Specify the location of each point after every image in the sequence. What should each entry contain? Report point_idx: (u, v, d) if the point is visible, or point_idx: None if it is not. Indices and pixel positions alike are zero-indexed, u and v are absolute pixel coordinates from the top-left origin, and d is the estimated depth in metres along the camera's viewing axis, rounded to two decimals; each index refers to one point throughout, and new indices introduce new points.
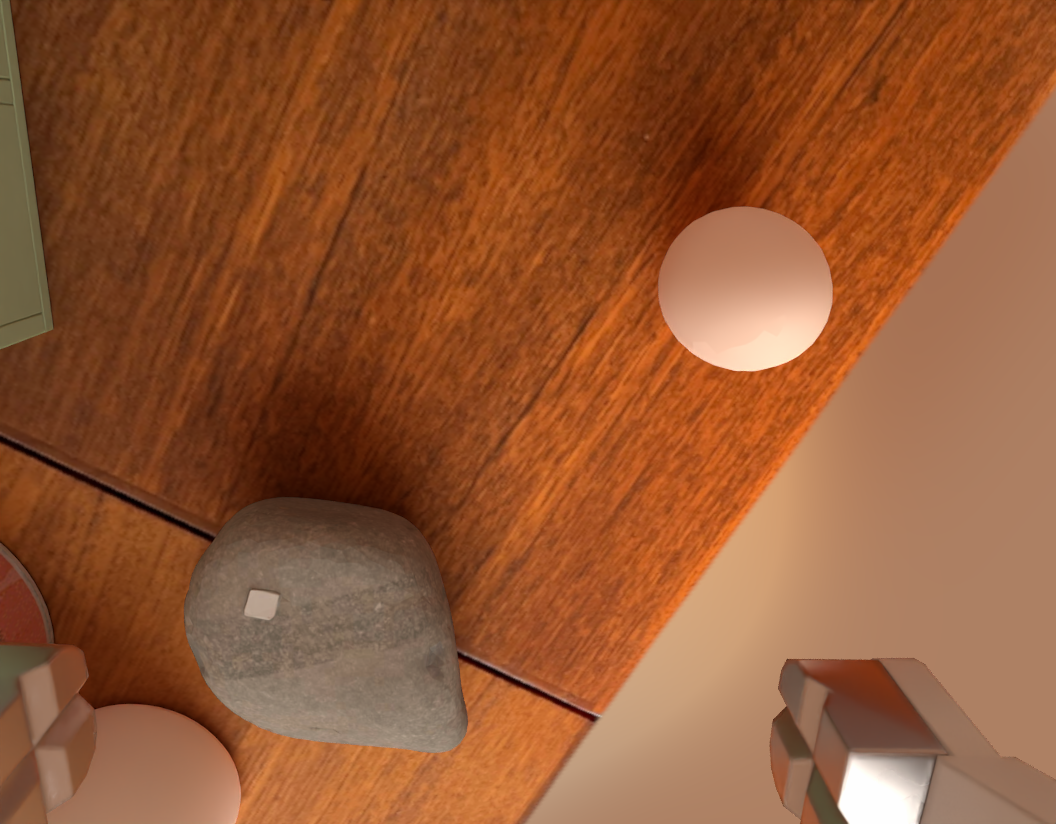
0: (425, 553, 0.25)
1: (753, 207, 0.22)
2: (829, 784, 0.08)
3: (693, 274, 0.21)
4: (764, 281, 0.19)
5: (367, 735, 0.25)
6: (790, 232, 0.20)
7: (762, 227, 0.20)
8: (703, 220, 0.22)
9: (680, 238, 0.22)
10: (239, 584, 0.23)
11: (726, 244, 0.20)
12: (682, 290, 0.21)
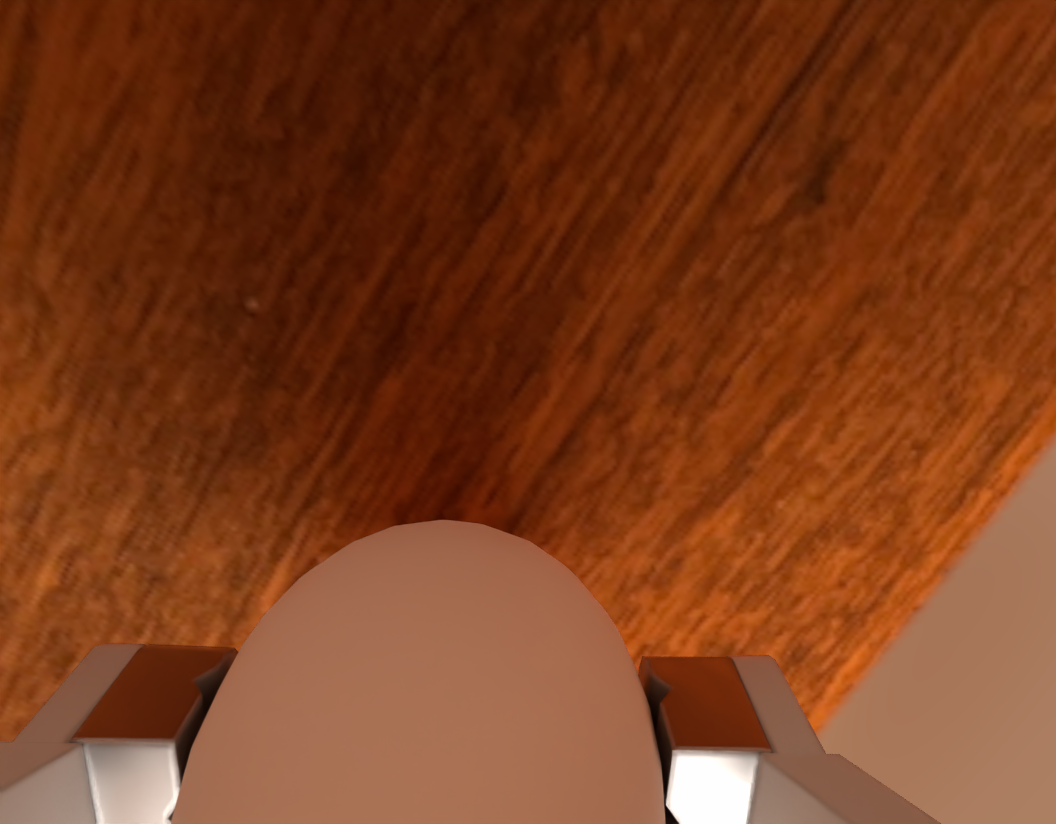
0: None
1: (440, 568, 0.07)
2: None
3: None
4: None
5: None
6: (471, 787, 0.05)
7: (372, 763, 0.05)
8: (288, 613, 0.07)
9: (243, 647, 0.08)
10: None
11: None
12: None
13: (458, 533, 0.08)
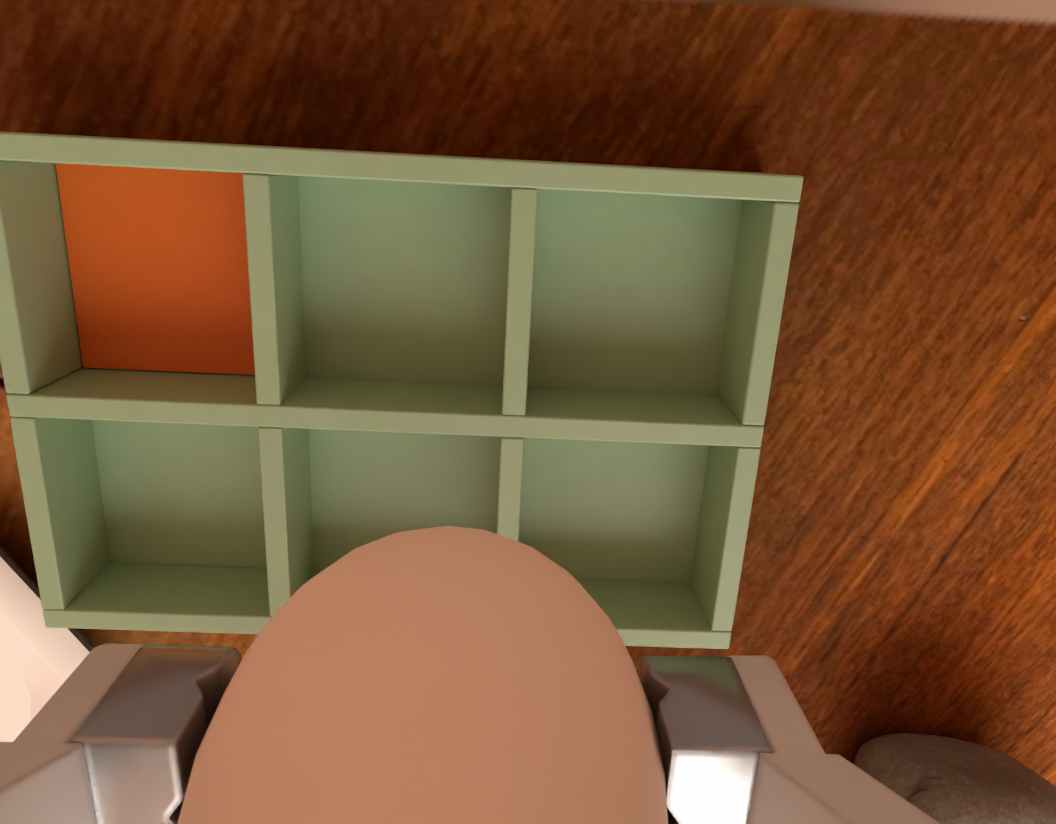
0: None
1: (444, 576, 0.07)
2: None
3: None
4: None
5: None
6: (475, 796, 0.05)
7: (377, 772, 0.06)
8: (292, 621, 0.07)
9: (247, 654, 0.08)
10: None
11: None
12: None
13: (461, 540, 0.08)
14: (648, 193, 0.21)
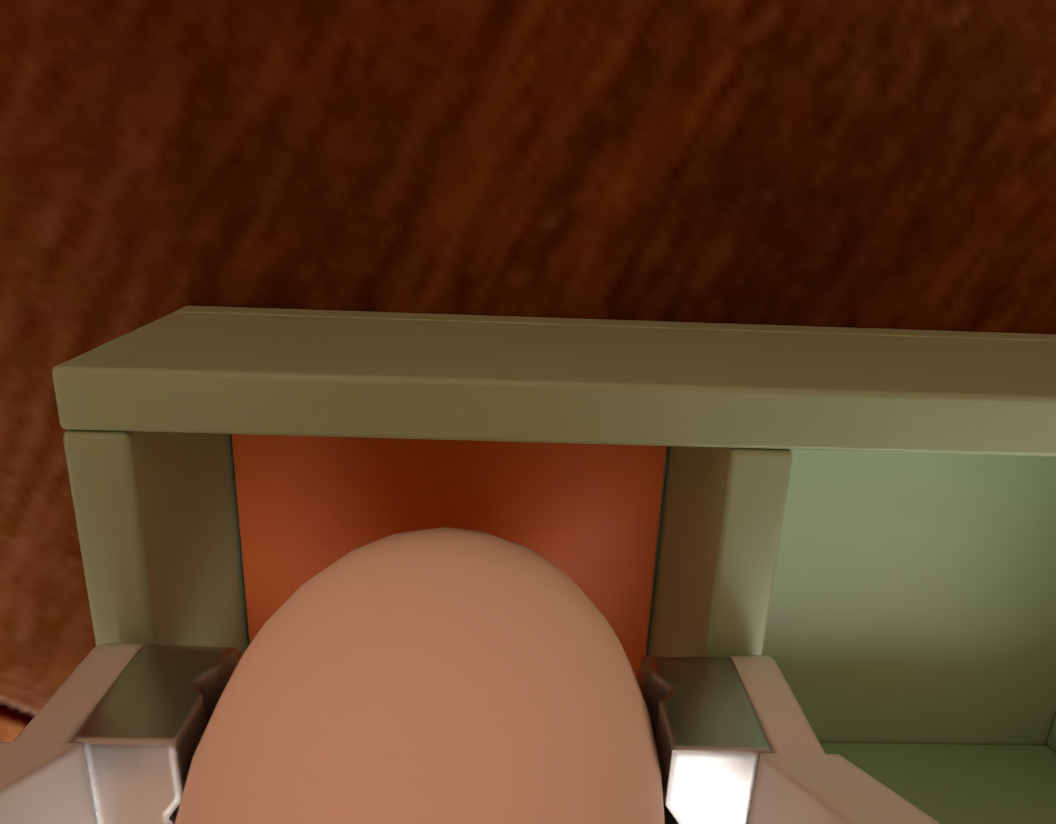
0: None
1: (441, 578, 0.07)
2: None
3: None
4: None
5: None
6: (471, 799, 0.05)
7: (373, 774, 0.06)
8: (289, 623, 0.07)
9: (245, 656, 0.08)
10: None
11: None
12: None
13: (458, 541, 0.08)
14: None
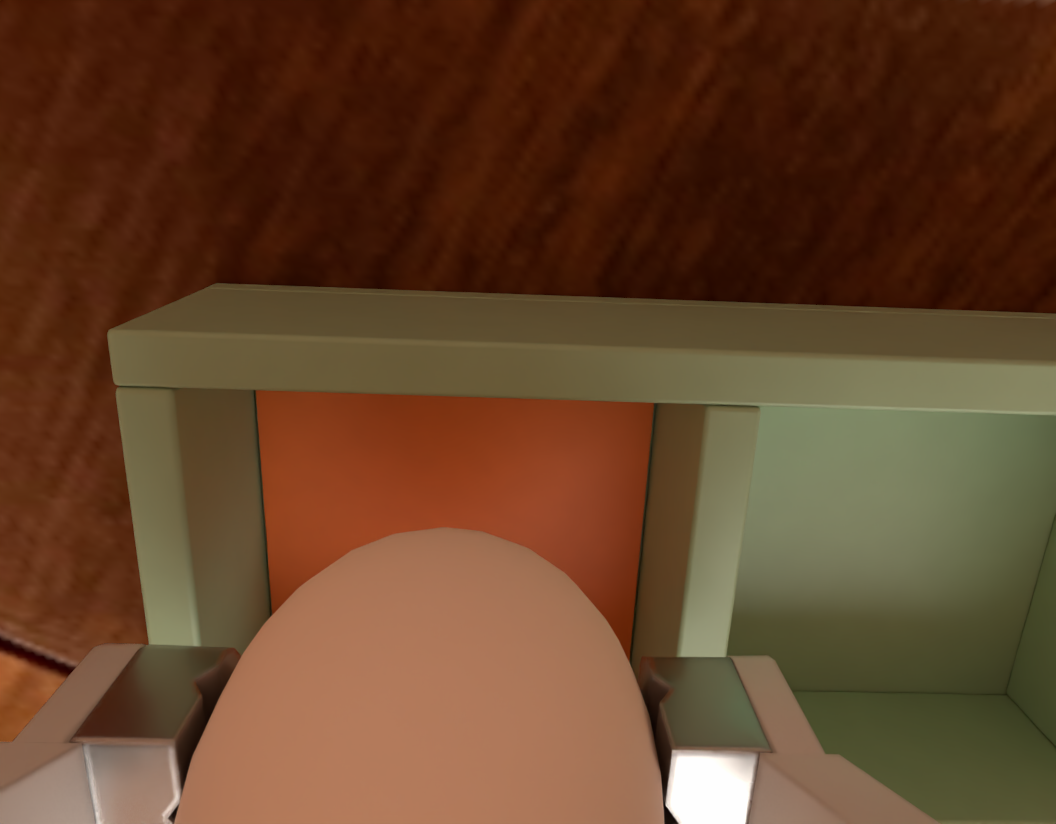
0: None
1: (440, 578, 0.07)
2: None
3: None
4: None
5: None
6: (469, 800, 0.05)
7: (372, 775, 0.06)
8: (289, 623, 0.07)
9: (244, 656, 0.08)
10: None
11: None
12: None
13: (458, 542, 0.08)
14: None
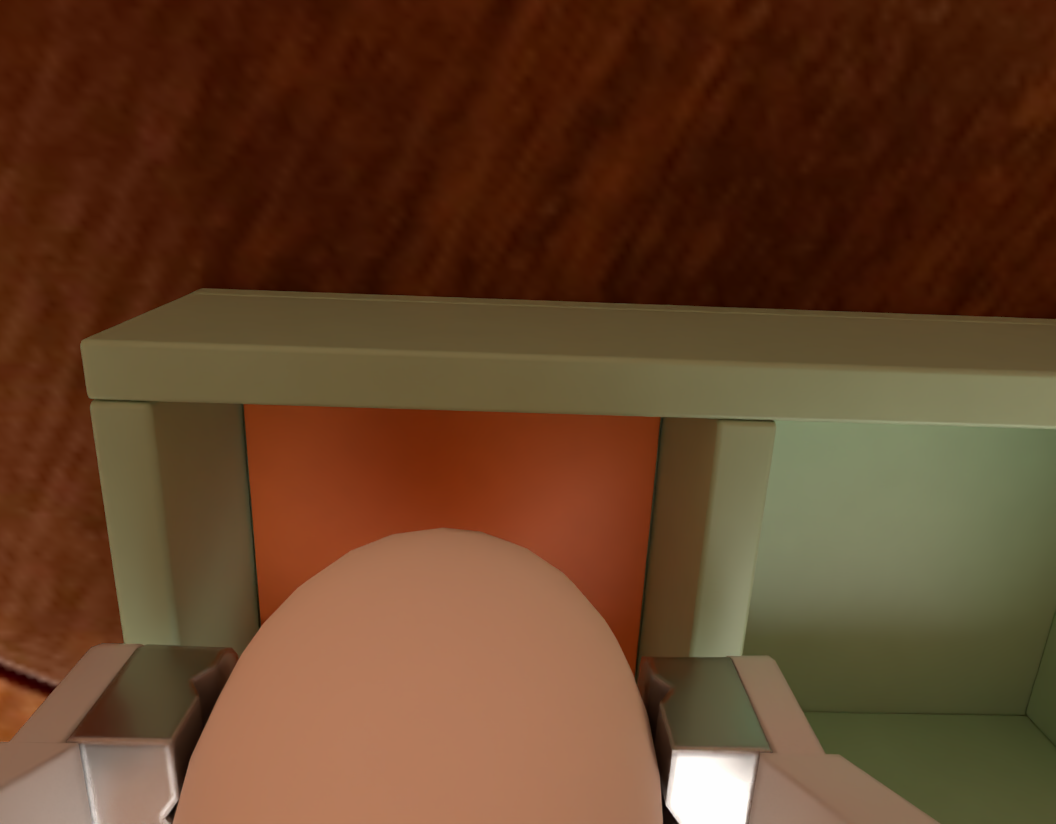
0: None
1: (439, 579, 0.07)
2: (661, 782, 0.08)
3: None
4: None
5: None
6: (468, 801, 0.05)
7: (369, 776, 0.06)
8: (287, 624, 0.07)
9: (242, 657, 0.08)
10: None
11: None
12: None
13: (456, 542, 0.08)
14: None
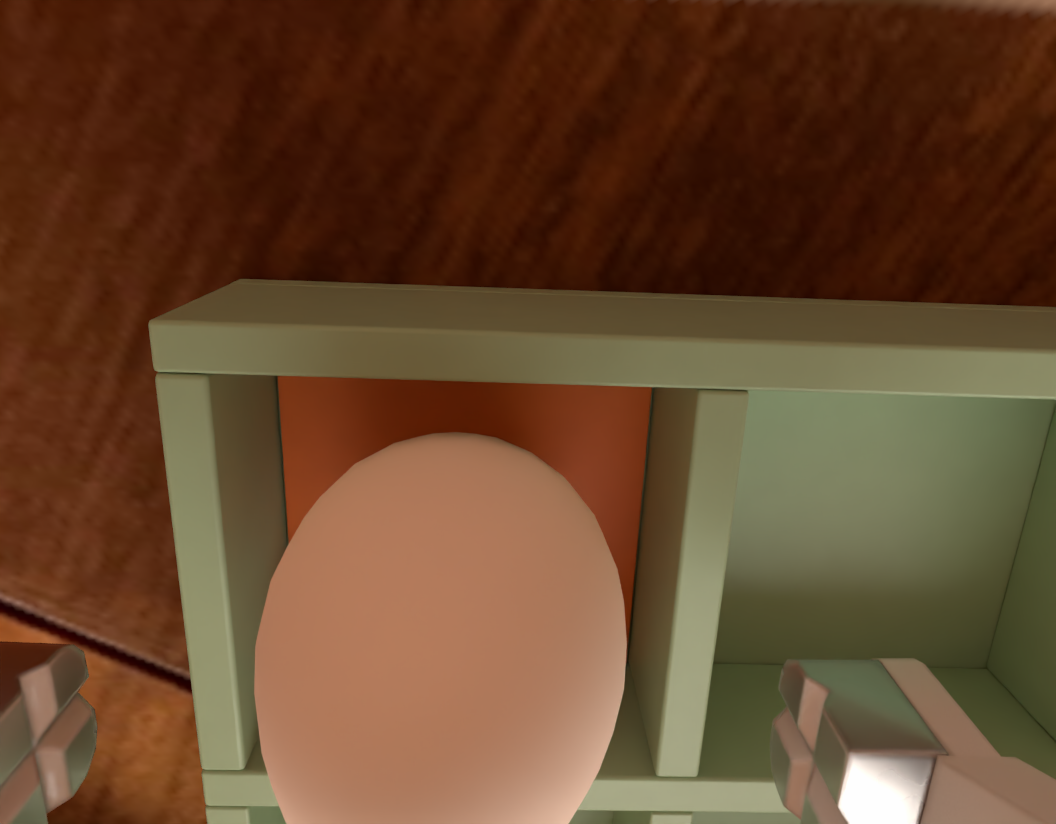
0: None
1: (459, 451, 0.10)
2: (829, 784, 0.08)
3: (262, 657, 0.08)
4: (361, 764, 0.07)
5: None
6: (484, 570, 0.08)
7: (415, 555, 0.08)
8: (344, 483, 0.10)
9: (307, 514, 0.10)
10: None
11: (319, 601, 0.08)
12: (255, 680, 0.09)
13: (471, 435, 0.11)
14: None
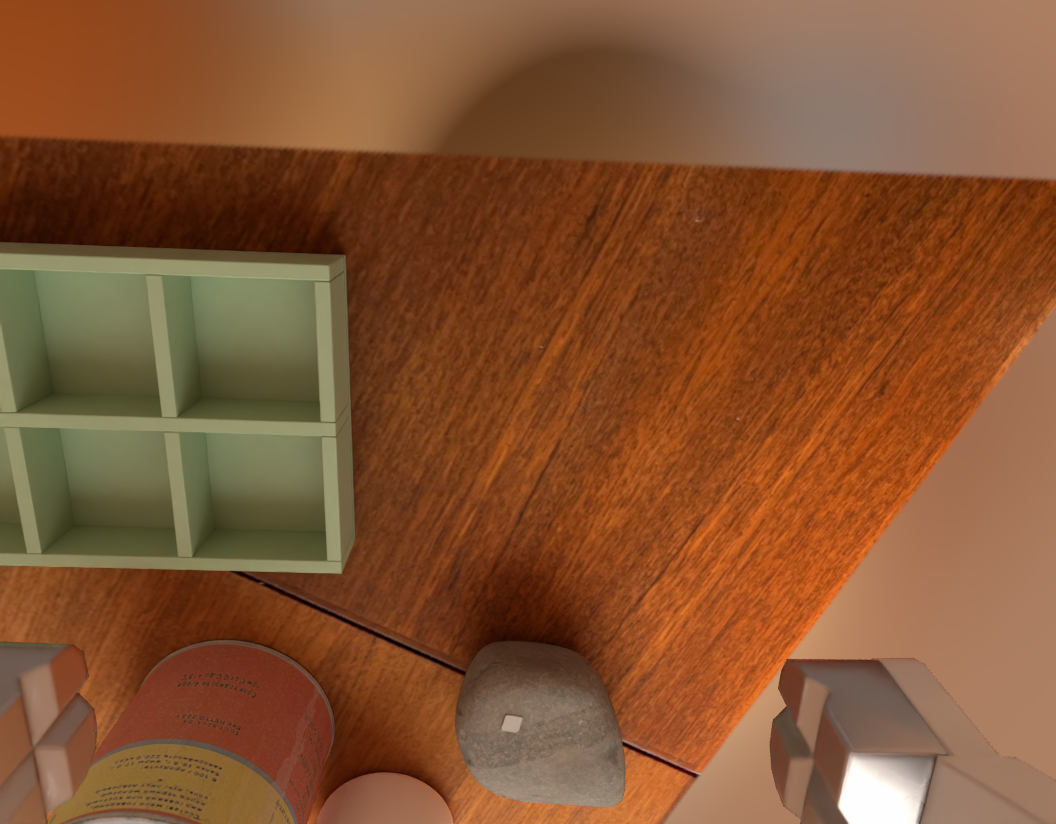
0: (601, 683, 0.39)
1: None
2: (829, 784, 0.08)
3: None
4: None
5: (568, 799, 0.39)
6: None
7: None
8: None
9: None
10: (498, 711, 0.37)
11: None
12: None
13: None
14: (232, 276, 0.33)
